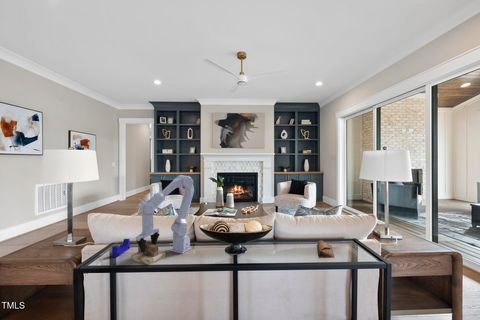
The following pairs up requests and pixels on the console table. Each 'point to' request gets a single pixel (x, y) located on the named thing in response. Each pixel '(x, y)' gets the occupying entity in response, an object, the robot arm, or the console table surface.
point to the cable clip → (121, 248)
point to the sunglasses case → (325, 249)
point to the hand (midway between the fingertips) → (148, 249)
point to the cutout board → (147, 260)
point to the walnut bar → (150, 249)
